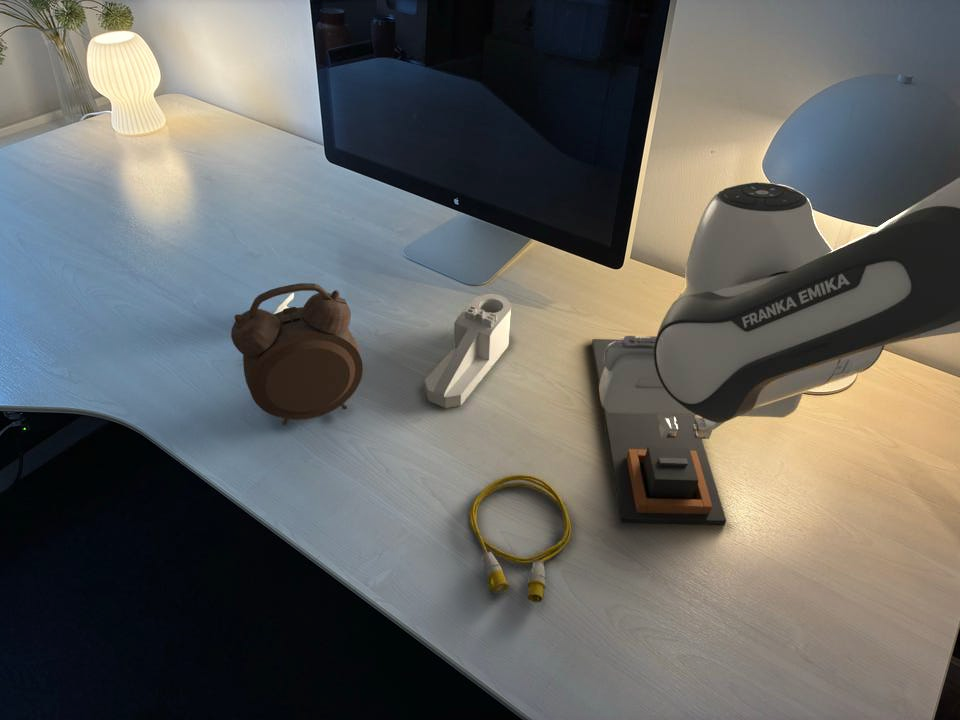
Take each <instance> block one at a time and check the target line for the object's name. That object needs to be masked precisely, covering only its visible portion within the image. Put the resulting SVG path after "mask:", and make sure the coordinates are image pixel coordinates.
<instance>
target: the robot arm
mask: <svg viewBox="0 0 960 720" xmlns="http://www.w3.org/2000/svg"><path fill="white" fill-rule="evenodd" d="M816 223H817V222H816V220H815V216H814V210H813V207H812V204H811V201H810V200H809V198H808V197H807V196H806V195H805V194H804V193H802V192H801V191H800V190H797V189H795V188H793V187H791V186H787V185H784V184H781V183H780V184H779V183H774V182H758V181H757V182H748V183H742V184H736V185H733V186H729V187H726V188H723V189H722V190H720V191H718V192H717V193H715V195H714V196H713V197H712V198H711V199H710V200H709V203H708V204H707V205H706V207H705V209H704V210H703V213H702V215H701V218H700V220H699V222H698V225H697V227H696V230H695V233H694V236H693V239H692V242H691V246H690V249H689V252H688V255H687V260H686V264H685V269H684V278H685V284H684V287H683V290H682V291H681V292H680V294H679V296H678V297H677V299H675V301H673V302H672V304H671V305H670V307H669V308H668V310H667V312H666V313H665V314H664V317H663V319H662V322H661V323H660V326H659V328H658V330H657V334H656V335H653V336H652V335H650V336H636V335H625V336H622V339H621V338H620V339H616V340H617V341H614V342H612V343H610V344H609V345H608V346H607V348H606V351H605V356H604V365H605V367H604V370H603V373H602V376H601V380H600V384H599V385H598V390H599V391H598V392H599V398H600V403H601V407H602V406H603V407H604V408H605V409H606V410H607V411H608V412H609V413H633V414H657V416H658V419H659V421H660V425H659V430H660V434H661V438H675V437H676V433H677V431H678V427H677V424H676V419H675V417H672V415H695V416H698V417H695V418H696V419H695V424H694V425H693V433H694V434H695V435H694V436H695V438H696V439H702V440H709V439H710V438H711V435H712V433H713V431H714V430H716V429H717V428H719V427H720V426H721V425H722V424H724V423H726V422H728V421H731V420H733V419H735V418H738V417H748V418H781V419H782V418H786V417H787V416H789V415H792V414H793V413H794V412H795V411H796V410H797V408H798V407H799V404H800V402H801V400H802V398H803V395H804V393H805V392H809V391H811V390H815V389H817V388H821V387H823V386H824V387H825V386H827V385H829V384H832V383H836V382H839V381H841V380H844V379H846V378H850V377H852V376H855V375H857V374H861V373H862V372H865V371H868V369H870V368H871V367H872V366H874V364H876V362H877V361H878V359H879V358H880V356H881V355H882V352H883V351H884V348H885V346H887V345H893V344H897V343H902V342H907V341H912V340H913V341H914V340H918V339H925V338H930V337H936V336H944V335H951V334H958V333H960V176H959V177H958V178H956V179H954V180H952V181H951V182H950V183H948V184H946V185H944V186H943V187H942V188H939V189H938V190H936V191H935V192H933V193H931V194H930V195H928V196H926V197H924V198H923V199H921V200H920V201H918V202H917V203H915V204H913V205H912V206H910V207H908V208H906V209H905V210H904V211H901V212H900V213H898V214H897V215H896V216H894V217H892V218H891V219H888V220H887V221H886V222H884V223H882V224H880V225H879V226H878V227H876V228H874V229H873V230H871V231H869V232H867V233H866V234H863V235H861V236H859V237H858V238H856V239H854V240H852V241H850V242H848V243H845V244H843V245H841V246H839V247H837V248H836V249H833V248H832V247H831V246H830V244H829V243H828V241H826V239H825V238H824V236H823V235H822V234H821V232H820V230H819V229H818V226H817V224H816Z"/></svg>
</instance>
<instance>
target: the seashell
mask: <svg viewBox="0 0 960 720" xmlns="http://www.w3.org/2000/svg"><path fill="white" fill-rule="evenodd" d="M294 298H295V292H291V293H290V295H289V296H288V297H286V299H284V301H283V302H281V304H280V305H279V306H278V307H277V308H276V310H275V311H274V312H273V313H272V314H273V315H274V314H276V313H278V312H281V311H283V309H286V308H290V307H288V304H289V303H290V302H291V301H292V300H294Z"/></svg>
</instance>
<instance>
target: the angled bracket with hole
mask: <svg viewBox="0 0 960 720" xmlns="http://www.w3.org/2000/svg"><path fill="white" fill-rule="evenodd" d="M511 309H512V304H511V302H510V301H509V299H507V298H506V297H504V296H503V295H500V294H495V293H486V294H482V295H479V296H477V297H475V298H474V299H473V300H472V301H471V302H470V303H469V304H468V306H466V308H464V310H463V311H462V312H461V313H460V314H459V315H458V316H457V318H456V319H455V321H454V323H453V338H454V339H453V340H454V341H453V342H454V343H453V346H454V347H453V348H452V349H451V350H450V351H449V352H448V353H447V355H446V356H445V357H444V358H443V359H442V360H441V361H440V362H439V363H438V364H437V366H436V367H435V368H434V369H433V370H432V372H431V373H430V374H429V375H428V376H427V377H426V378H425V379H424V388H425V389H424V391H425V395H426V397H427V400H428V402H430V403H432V404H434V405H437V406H440V407H442V408H444V409H450V408H457V407H460V406H461V407H462V405H463V403H464V402H465V401H466V400H467V398H468V397H469V396H470V395H471V394H472V393H473V391H474V390H475V389H476V388H477V386H478V385H479V384H480V382H481V381H482V380H483V379H484V378H485V376H486V375H487V374H488V372H489V371H490V370H491V368H492V367H493V366H494V365H495V363H496V362H497V361H498V360H499V358H500V357H501V356H502V354H504V352H505V351H506V350H507V349H508V347H509V343H510V328H511V327H510V326H511V313H512V310H511Z"/></svg>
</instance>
